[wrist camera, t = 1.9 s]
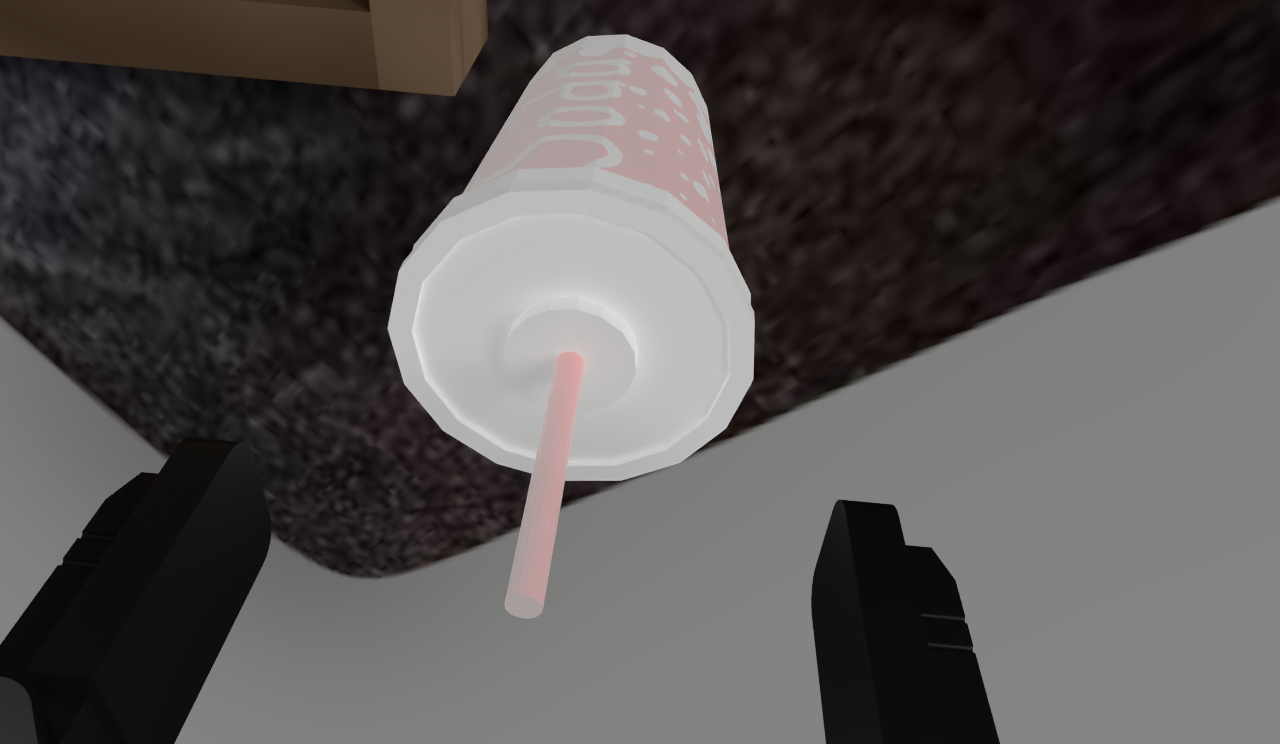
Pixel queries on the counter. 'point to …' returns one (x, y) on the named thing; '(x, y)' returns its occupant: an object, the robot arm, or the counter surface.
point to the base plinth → (261, 38)
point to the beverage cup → (581, 289)
